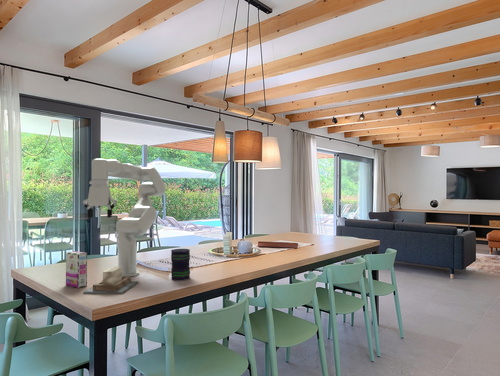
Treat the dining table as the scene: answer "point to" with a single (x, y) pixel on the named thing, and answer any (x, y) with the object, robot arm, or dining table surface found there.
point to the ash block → (112, 275)
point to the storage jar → (180, 264)
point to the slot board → (112, 287)
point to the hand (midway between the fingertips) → (100, 217)
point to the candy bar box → (76, 269)
